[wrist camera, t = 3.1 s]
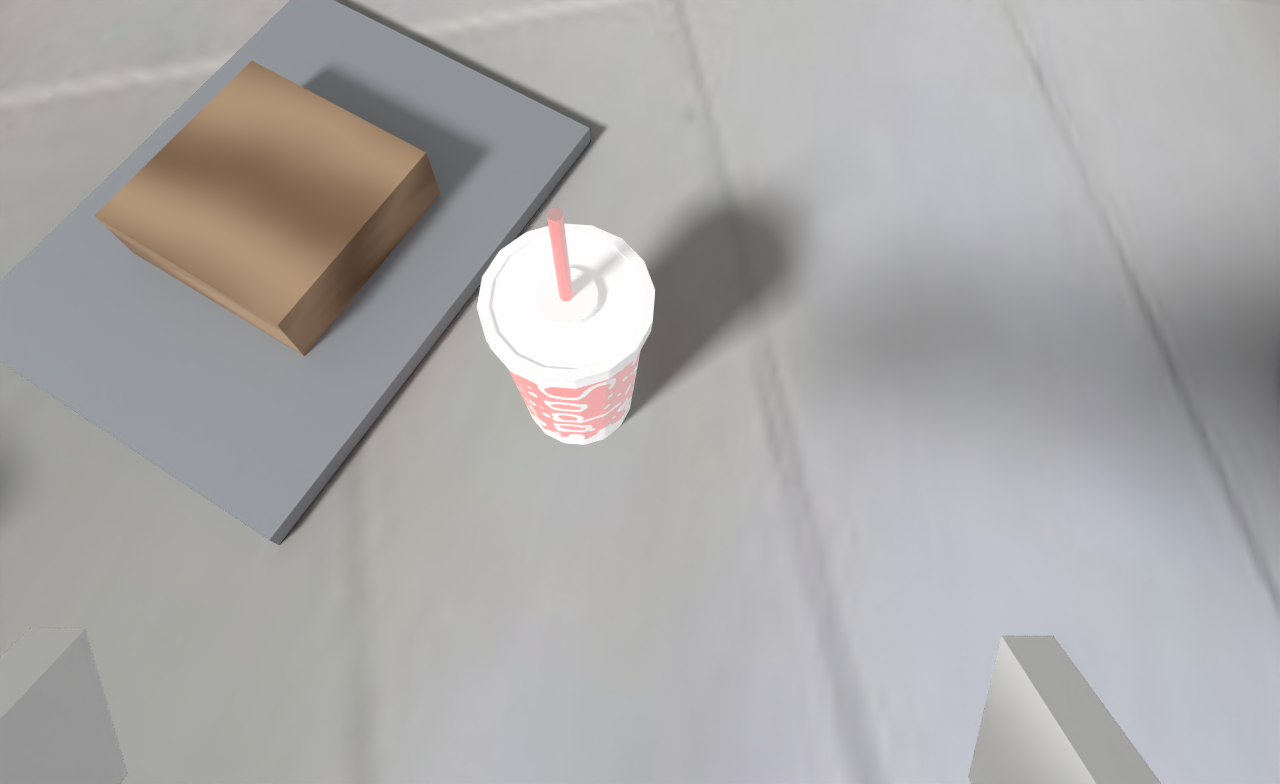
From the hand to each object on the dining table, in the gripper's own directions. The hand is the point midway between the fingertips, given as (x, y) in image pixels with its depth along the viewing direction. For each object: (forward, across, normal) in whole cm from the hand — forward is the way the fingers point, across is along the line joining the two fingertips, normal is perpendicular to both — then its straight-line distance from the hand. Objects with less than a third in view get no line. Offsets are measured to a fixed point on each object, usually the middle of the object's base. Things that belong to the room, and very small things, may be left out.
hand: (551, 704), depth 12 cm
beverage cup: (+24, -1, -5) cm, 25 cm away
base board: (+30, -15, 0) cm, 33 cm away
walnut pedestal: (+30, -15, 0) cm, 33 cm away
